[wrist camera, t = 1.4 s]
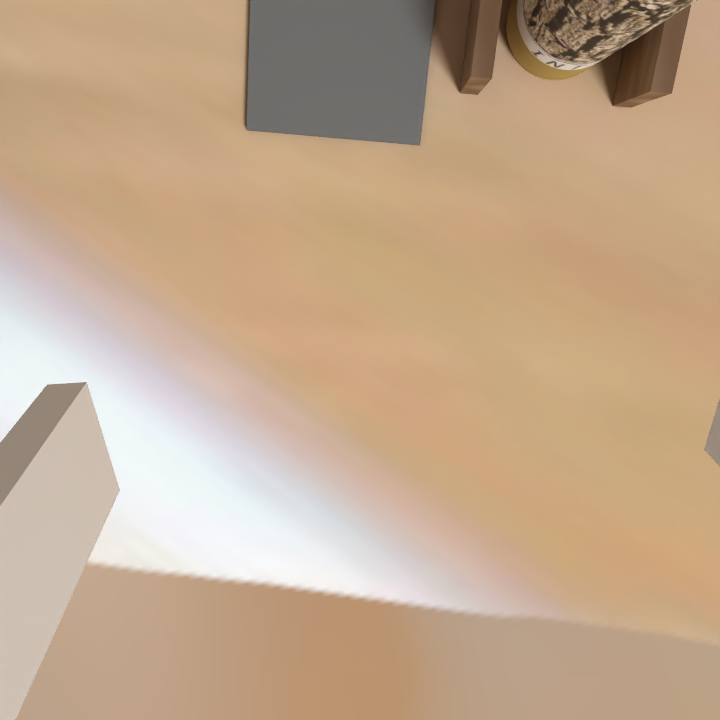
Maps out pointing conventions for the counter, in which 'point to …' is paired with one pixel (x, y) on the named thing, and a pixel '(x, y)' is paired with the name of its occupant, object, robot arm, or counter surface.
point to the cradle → (638, 66)
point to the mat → (339, 68)
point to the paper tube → (579, 31)
